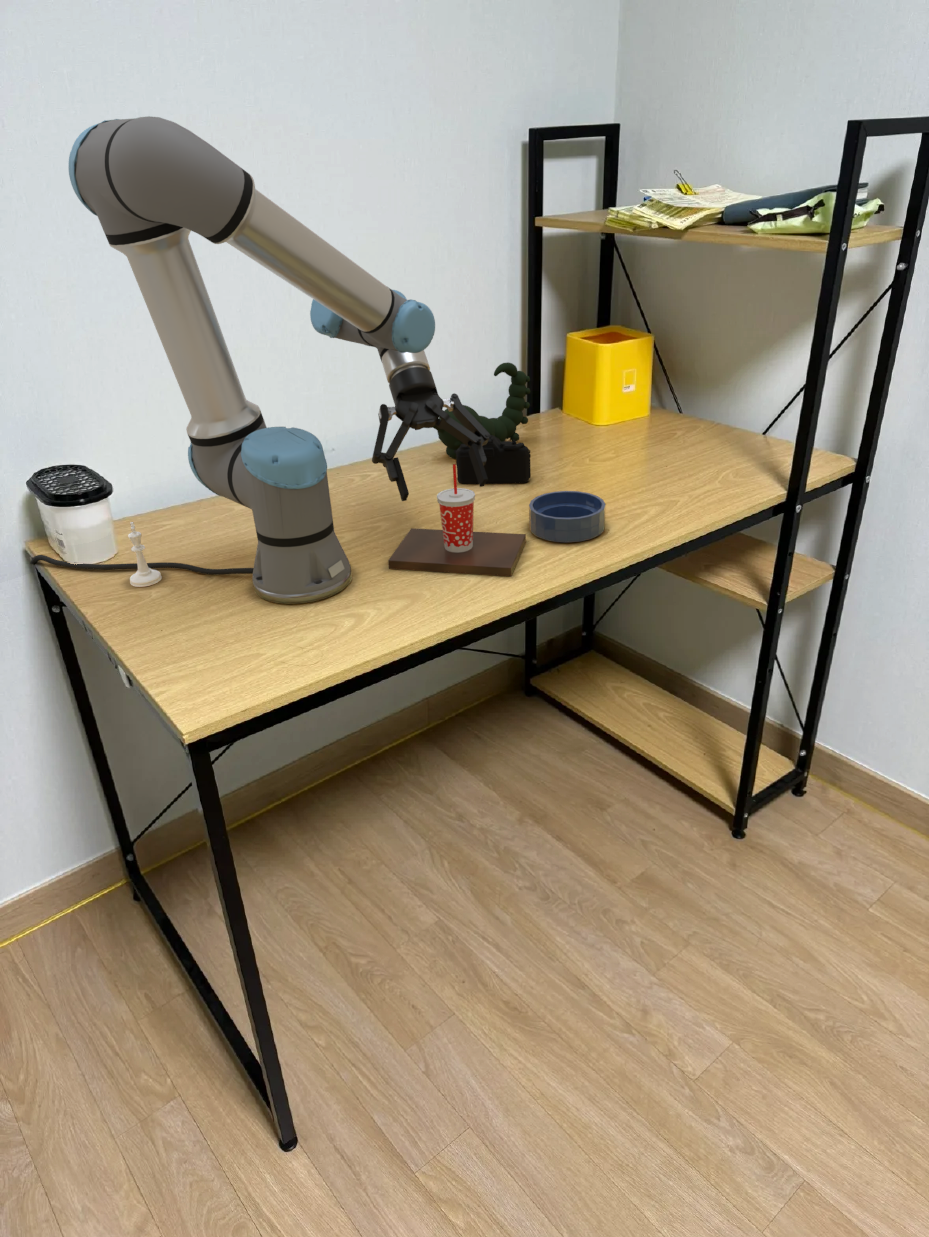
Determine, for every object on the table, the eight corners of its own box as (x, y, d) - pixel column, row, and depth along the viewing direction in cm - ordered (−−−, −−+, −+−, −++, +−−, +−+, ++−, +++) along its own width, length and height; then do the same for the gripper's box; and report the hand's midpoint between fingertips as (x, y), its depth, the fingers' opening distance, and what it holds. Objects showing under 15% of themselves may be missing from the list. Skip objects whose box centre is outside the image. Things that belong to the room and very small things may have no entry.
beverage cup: (435, 542, 144) (429, 461, 137) (470, 536, 146) (466, 455, 139) (446, 557, 139) (441, 473, 132) (482, 550, 141) (479, 467, 134)
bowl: (523, 542, 146) (523, 517, 144) (536, 512, 157) (536, 489, 155) (600, 546, 144) (601, 520, 141) (607, 516, 154) (608, 492, 152)
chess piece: (129, 589, 138) (114, 530, 133) (130, 576, 142) (115, 519, 137) (161, 584, 139) (147, 526, 134) (162, 571, 143) (148, 514, 138)
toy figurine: (509, 442, 198) (415, 457, 185) (513, 357, 190) (416, 366, 177) (535, 452, 192) (440, 468, 178) (540, 364, 183) (441, 374, 170)
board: (388, 568, 140) (387, 560, 139) (411, 536, 151) (411, 528, 150) (511, 576, 135) (511, 567, 135) (525, 542, 146) (525, 534, 146)
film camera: (532, 468, 178) (531, 425, 174) (530, 485, 170) (529, 440, 165) (458, 469, 180) (456, 426, 175) (453, 485, 171) (450, 441, 167)
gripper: (473, 380, 154) (509, 487, 149) (335, 400, 147) (368, 513, 142) (483, 355, 147) (521, 466, 142) (339, 375, 140) (374, 493, 135)
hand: (445, 490), depth 142 cm, fingers open, 13 cm apart
